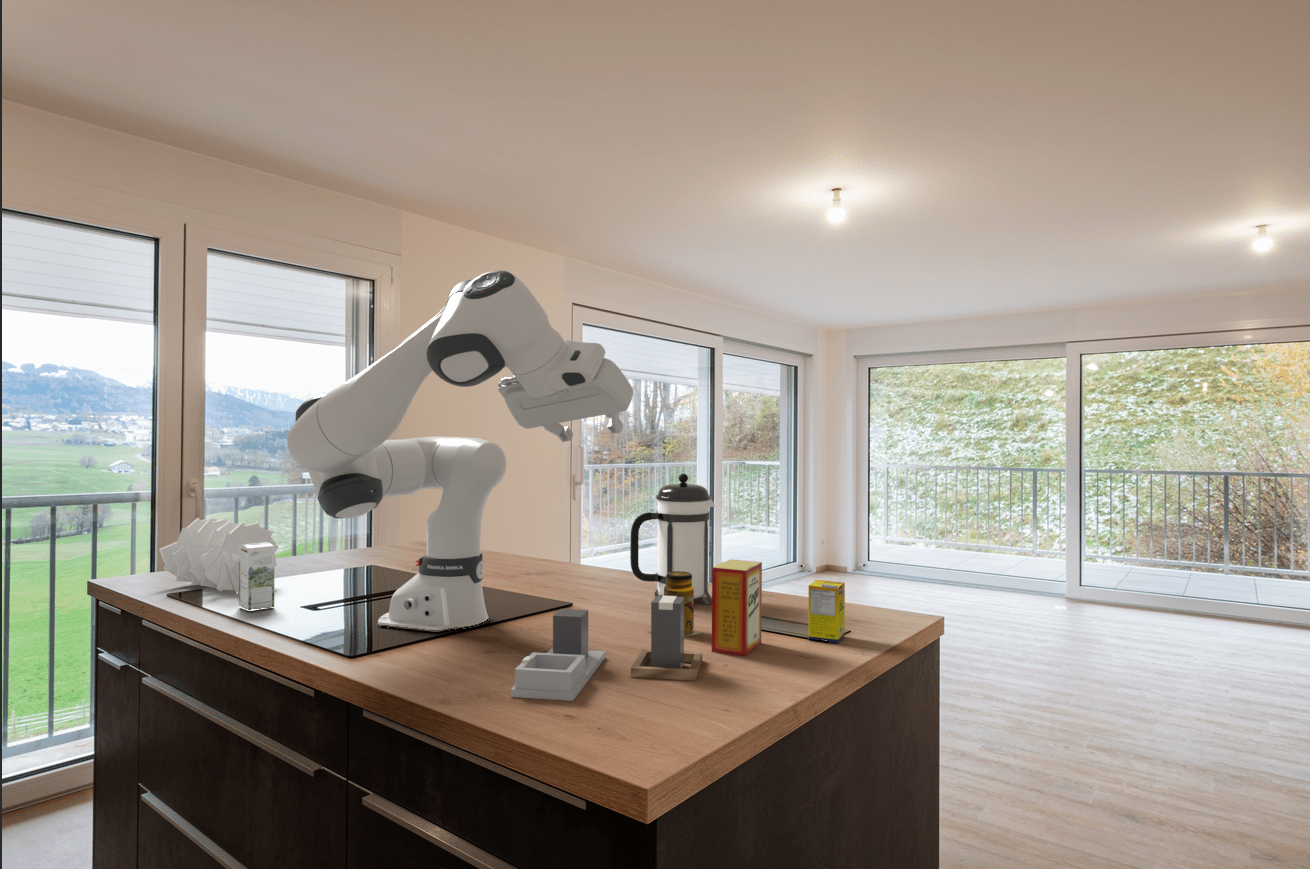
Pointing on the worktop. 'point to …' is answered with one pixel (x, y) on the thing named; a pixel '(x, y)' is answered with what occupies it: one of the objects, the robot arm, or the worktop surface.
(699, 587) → the coffee press
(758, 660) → the worktop surface
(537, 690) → the tray and post stand
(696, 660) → the holder frame
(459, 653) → the worktop surface
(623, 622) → the worktop surface
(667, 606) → the dark grey block
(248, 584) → the syrup box
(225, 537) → the spiral staircase
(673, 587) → the condiment
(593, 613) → the worktop surface
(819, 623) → the supplement box
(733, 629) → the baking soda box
